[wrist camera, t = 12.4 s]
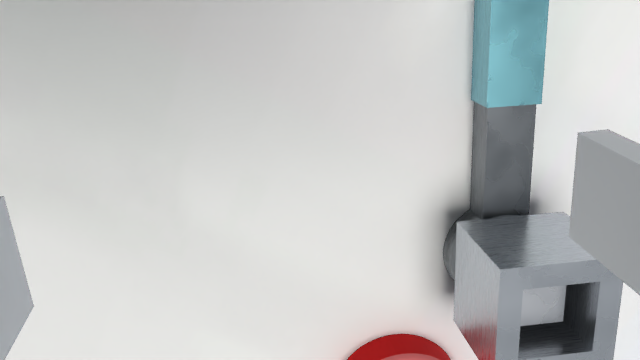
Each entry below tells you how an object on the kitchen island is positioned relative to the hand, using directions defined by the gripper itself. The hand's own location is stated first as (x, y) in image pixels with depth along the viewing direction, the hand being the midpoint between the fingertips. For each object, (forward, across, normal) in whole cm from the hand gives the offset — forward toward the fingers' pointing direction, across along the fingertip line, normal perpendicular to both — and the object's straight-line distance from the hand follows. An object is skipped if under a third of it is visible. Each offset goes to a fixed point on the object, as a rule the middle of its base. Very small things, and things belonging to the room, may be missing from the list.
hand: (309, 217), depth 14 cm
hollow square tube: (+22, +15, -15) cm, 31 cm away
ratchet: (+25, +16, -8) cm, 31 cm away
